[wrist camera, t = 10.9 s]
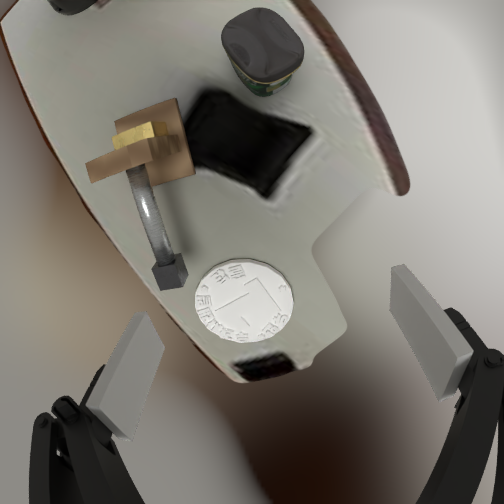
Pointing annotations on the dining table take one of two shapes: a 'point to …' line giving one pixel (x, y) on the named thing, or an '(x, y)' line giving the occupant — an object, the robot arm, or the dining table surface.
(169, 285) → the shaft
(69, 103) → the dining table surface
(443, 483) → the robot arm
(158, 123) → the spacer
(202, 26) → the dining table surface
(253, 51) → the coffee jar
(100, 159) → the bracket
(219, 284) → the giant coin
